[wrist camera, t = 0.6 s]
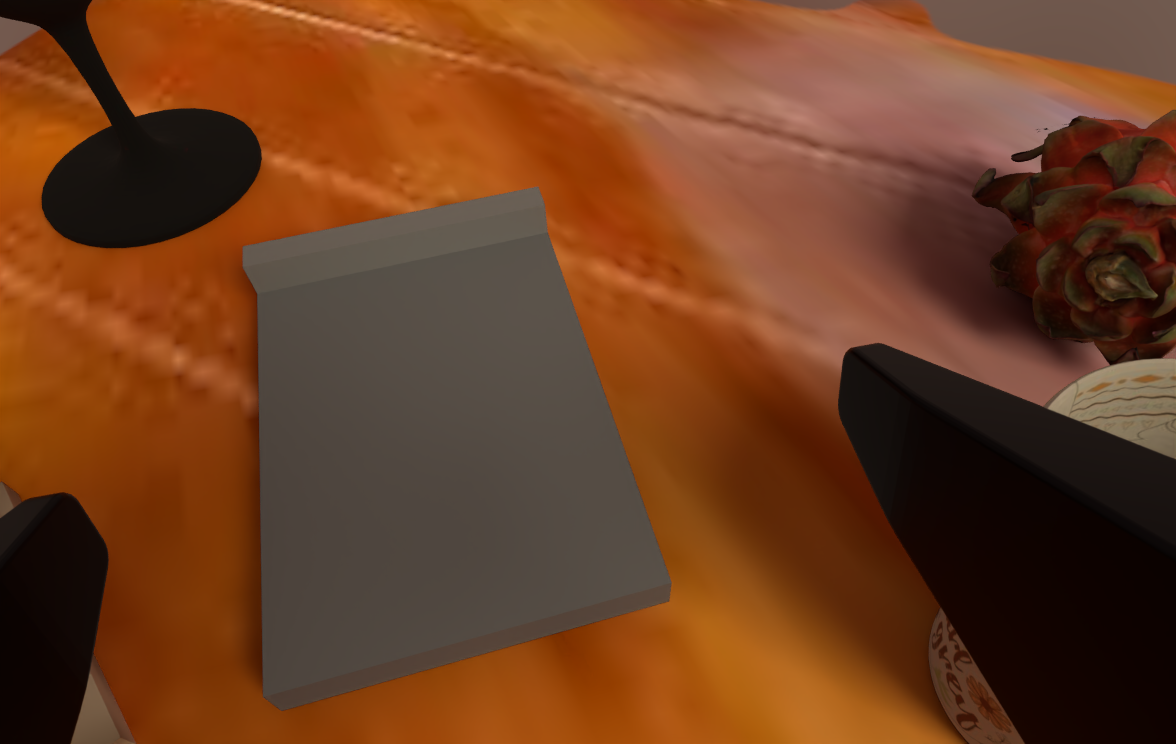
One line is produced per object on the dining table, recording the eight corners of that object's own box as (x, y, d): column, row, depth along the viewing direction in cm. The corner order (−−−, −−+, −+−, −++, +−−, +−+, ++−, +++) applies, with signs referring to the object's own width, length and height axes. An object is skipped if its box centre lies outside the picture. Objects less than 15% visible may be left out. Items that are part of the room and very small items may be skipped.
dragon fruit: (1059, 450, 29) (1003, 263, 37) (1358, 382, 24) (1218, 185, 33) (982, 290, 25) (939, 119, 33) (1325, 172, 20) (1174, 9, 29)
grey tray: (668, 601, 24) (674, 562, 22) (282, 710, 23) (241, 681, 20) (543, 240, 34) (538, 186, 32) (270, 298, 33) (242, 246, 30)
